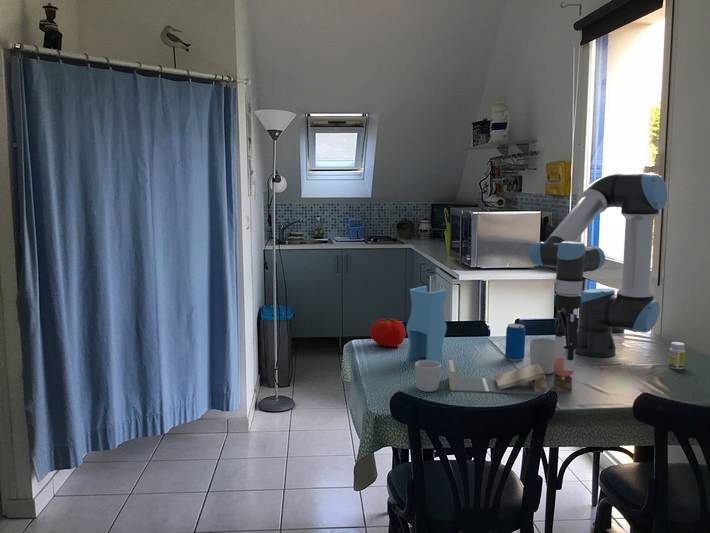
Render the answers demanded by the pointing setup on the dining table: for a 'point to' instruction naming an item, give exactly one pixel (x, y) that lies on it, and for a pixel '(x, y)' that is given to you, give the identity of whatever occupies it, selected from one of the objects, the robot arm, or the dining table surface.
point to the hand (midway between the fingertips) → (563, 363)
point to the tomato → (388, 332)
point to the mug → (543, 354)
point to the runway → (486, 385)
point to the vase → (426, 324)
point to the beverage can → (515, 342)
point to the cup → (427, 375)
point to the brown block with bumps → (562, 383)
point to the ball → (561, 368)
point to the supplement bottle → (676, 355)
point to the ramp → (523, 378)
